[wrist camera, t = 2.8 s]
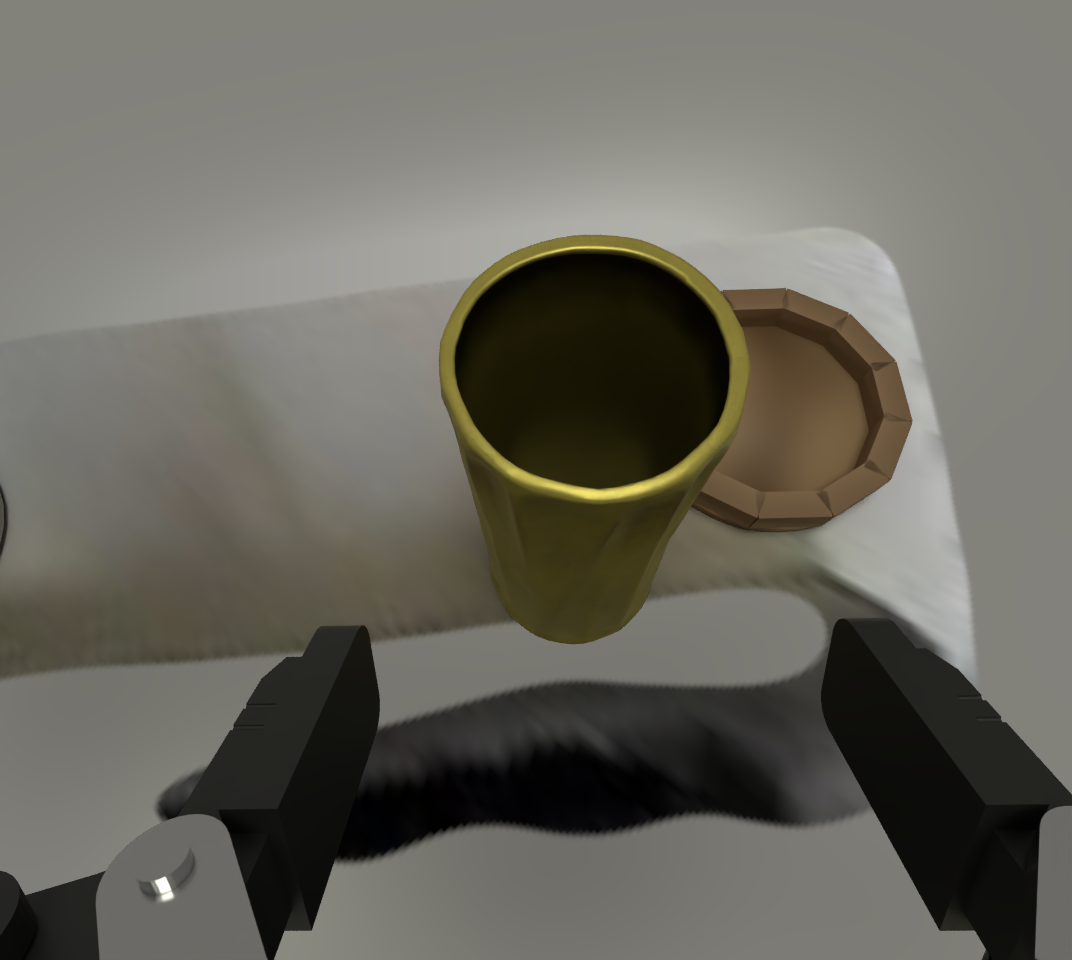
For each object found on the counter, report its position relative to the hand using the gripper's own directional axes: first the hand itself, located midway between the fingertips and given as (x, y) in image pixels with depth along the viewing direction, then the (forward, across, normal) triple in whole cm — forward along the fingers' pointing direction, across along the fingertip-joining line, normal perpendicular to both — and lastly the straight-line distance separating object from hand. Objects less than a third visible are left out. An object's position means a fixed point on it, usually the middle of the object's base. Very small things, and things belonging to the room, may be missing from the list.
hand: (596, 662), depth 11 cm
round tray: (+16, -8, +1) cm, 18 cm away
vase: (+12, 0, +5) cm, 13 cm away
